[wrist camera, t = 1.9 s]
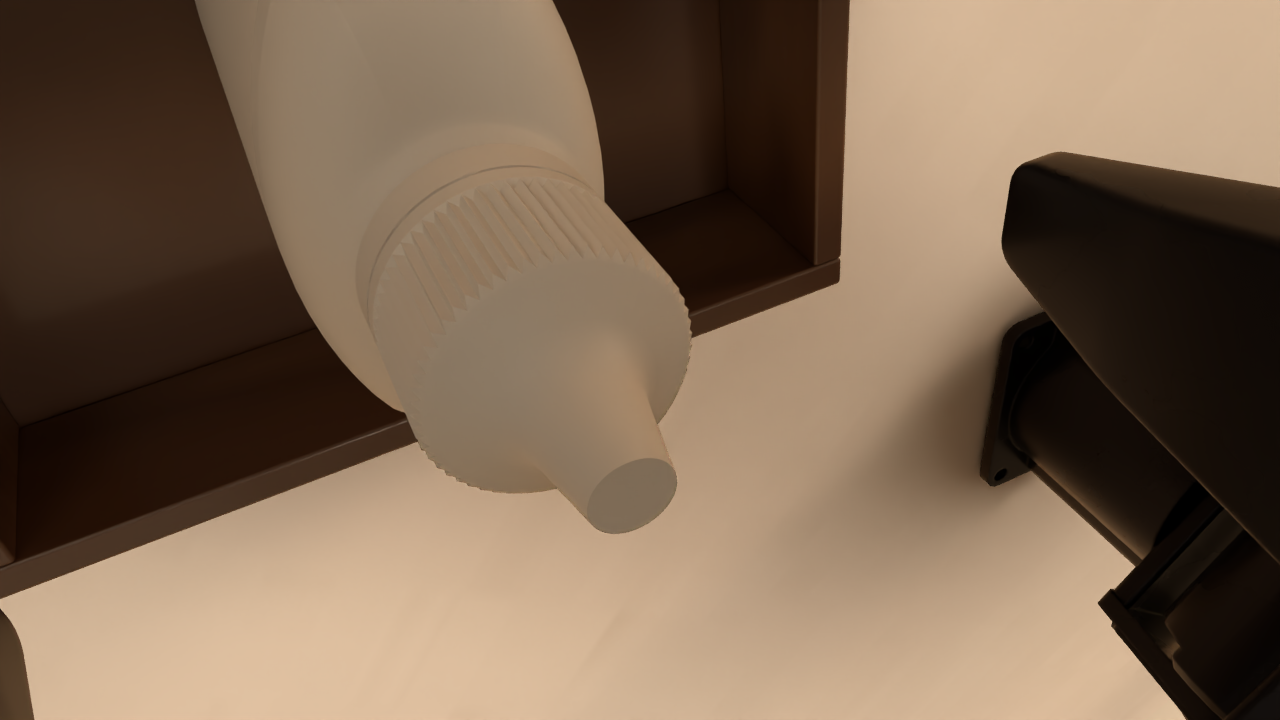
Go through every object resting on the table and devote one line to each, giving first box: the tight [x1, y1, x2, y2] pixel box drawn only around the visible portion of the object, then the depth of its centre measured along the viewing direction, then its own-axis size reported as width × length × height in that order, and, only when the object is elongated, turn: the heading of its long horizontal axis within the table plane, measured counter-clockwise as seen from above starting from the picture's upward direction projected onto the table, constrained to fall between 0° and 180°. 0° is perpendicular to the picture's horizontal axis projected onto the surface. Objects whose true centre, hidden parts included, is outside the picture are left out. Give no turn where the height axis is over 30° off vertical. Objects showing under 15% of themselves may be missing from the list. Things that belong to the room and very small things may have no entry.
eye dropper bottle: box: [195, 0, 692, 534], centre depth 11 cm, size 4×6×12 cm
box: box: [0, 0, 850, 599], centre depth 15 cm, size 13×15×4 cm
